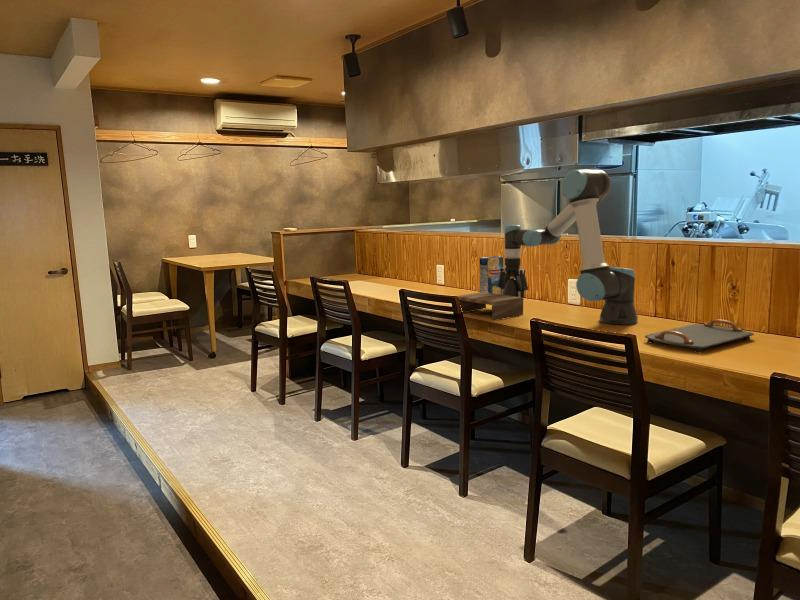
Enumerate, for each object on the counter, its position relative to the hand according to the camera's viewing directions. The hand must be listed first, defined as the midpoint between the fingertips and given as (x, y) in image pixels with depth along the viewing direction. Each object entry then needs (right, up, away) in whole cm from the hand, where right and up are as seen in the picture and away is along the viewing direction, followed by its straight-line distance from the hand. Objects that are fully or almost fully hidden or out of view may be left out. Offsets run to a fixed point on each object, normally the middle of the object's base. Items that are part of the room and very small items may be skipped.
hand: (512, 303), depth 291 cm
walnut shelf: (-13, -5, -10) cm, 17 cm away
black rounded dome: (0, -3, +1) cm, 3 cm away
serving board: (+54, -14, -73) cm, 92 cm away
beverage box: (-5, +3, +35) cm, 35 cm away
